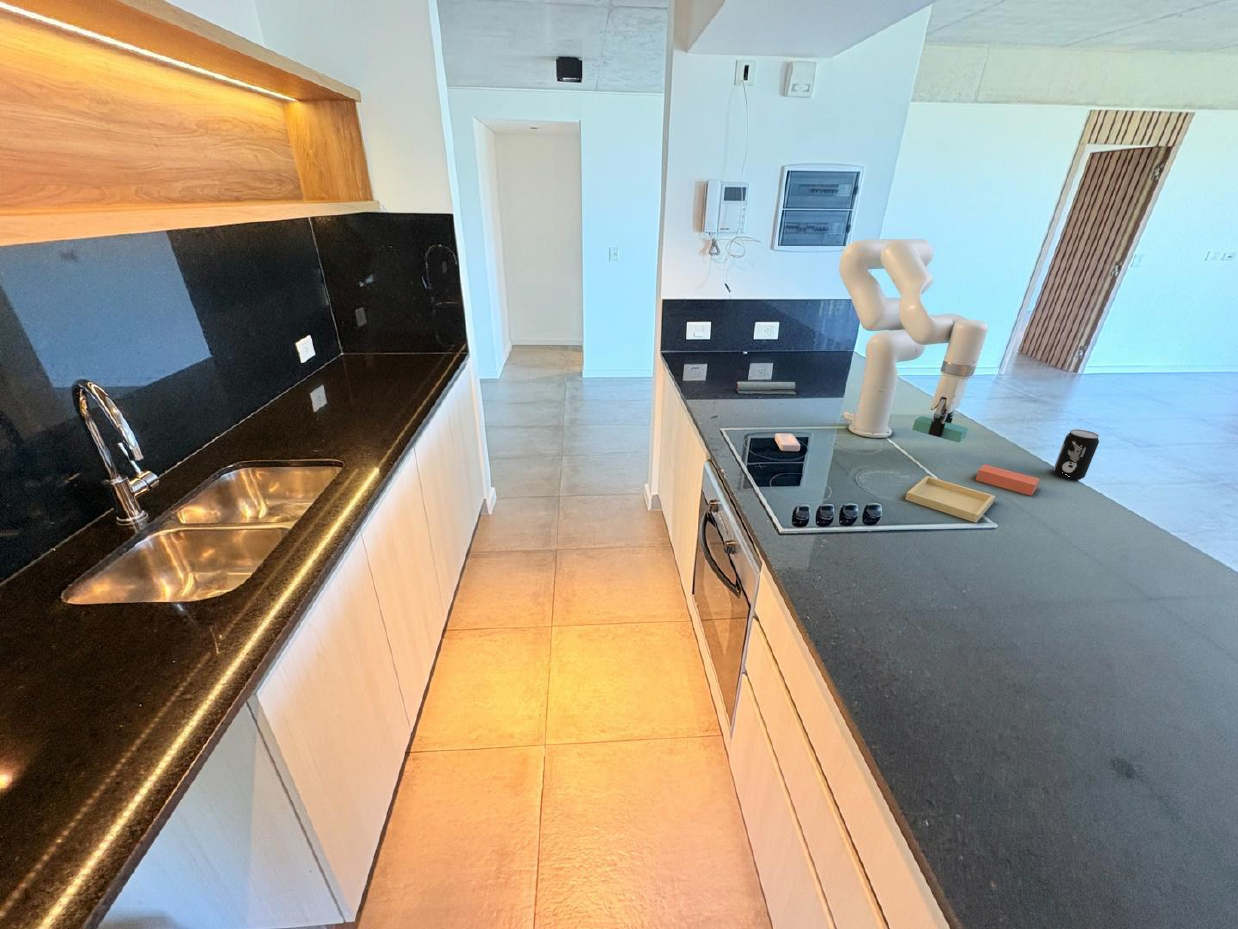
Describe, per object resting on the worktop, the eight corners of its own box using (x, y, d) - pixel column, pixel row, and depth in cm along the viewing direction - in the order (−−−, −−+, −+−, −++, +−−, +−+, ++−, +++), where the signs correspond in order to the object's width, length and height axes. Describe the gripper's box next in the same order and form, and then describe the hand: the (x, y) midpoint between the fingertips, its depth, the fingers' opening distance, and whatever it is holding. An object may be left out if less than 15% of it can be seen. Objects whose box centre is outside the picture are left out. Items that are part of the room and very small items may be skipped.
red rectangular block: (975, 480, 137) (978, 469, 135) (981, 474, 140) (984, 464, 139) (1031, 496, 129) (1035, 485, 127) (1035, 489, 132) (1039, 478, 131)
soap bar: (781, 451, 154) (782, 444, 153) (774, 440, 162) (775, 432, 161) (799, 452, 154) (800, 444, 153) (792, 440, 162) (793, 432, 161)
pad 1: (912, 429, 149) (914, 419, 147) (918, 425, 152) (921, 415, 150) (959, 442, 141) (962, 432, 139) (965, 437, 144) (968, 427, 143)
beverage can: (1089, 482, 135) (1107, 438, 130) (1060, 480, 137) (1077, 437, 132) (1074, 471, 141) (1091, 429, 136) (1047, 469, 142) (1062, 427, 137)
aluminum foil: (792, 389, 211) (793, 380, 209) (797, 394, 204) (798, 385, 203) (735, 388, 211) (736, 380, 210) (738, 393, 205) (739, 385, 204)
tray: (905, 499, 127) (907, 492, 126) (924, 482, 135) (926, 475, 135) (976, 523, 117) (978, 515, 116) (992, 503, 125) (995, 495, 125)
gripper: (952, 360, 146) (934, 421, 154) (930, 372, 135) (912, 437, 143) (983, 365, 141) (963, 428, 149) (963, 378, 130) (942, 445, 138)
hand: (938, 432), depth 146 cm, fingers closed on pad 1, 5 cm apart
